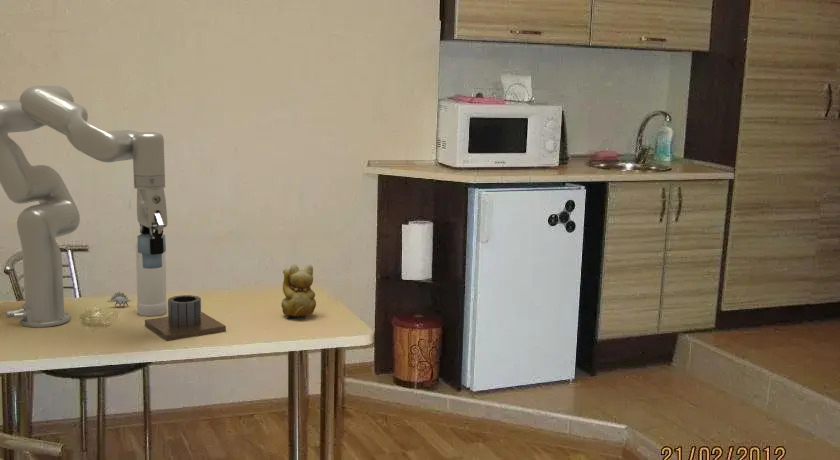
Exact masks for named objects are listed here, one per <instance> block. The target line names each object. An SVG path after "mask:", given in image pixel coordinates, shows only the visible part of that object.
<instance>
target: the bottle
mask: <svg viewBox="0 0 840 460" xmlns="http://www.w3.org/2000/svg"><path fill="white" fill-rule="evenodd" d="M153 226H157V225H153ZM153 231H154V232H155V230H153ZM136 240H137V239H136ZM135 260H136V261H135V262H136V294H137V295H136V298H137V299H136V300H137V301H136V308H137V314H138V315H139V316H143V317H157V316H161V315H165V314H166V313H167V312H168V311H167V310H168V300H167V272H166V271H167V269H166V267H167V266H166V264H167V263H166V262H167V261H166V251H165V252H163V254H162V267H160V268H155V269H146V268H143V263H142V254H141V253H138V240H137V241H136V244H135Z"/></svg>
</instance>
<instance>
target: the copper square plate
mask: <svg viewBox="0 0 840 460" xmlns="http://www.w3.org/2000/svg"><path fill="white" fill-rule="evenodd" d="M167 310H168V311H167V313H168V316H164V317H157V318H149V319H144V326H145V327H147V328H148V329H149V330H150V331H152V332H154V333H155V334H156V335H158V336H159V337H160V338H161V339H164V341H167V342H170V341H175V340H180V339H181V340H182V339H187V338H192V337H193V338H194V337H201V336H206V335H212V334H218V333H223V332H224V333H225V332H227V328H226V327H227V326H226V325H225V324H223V322H222V323H221V322H220V321H219V320H216V319H215V318H213V317H211V316H209V315H208V314H206V313H205V312H203V311H202V298H201V297H200V296H198V295H197V296H196V295H192V294H191V295H190V294H185V295H184V294H182V295H175V296H171V297H169V298H168V300H167Z"/></svg>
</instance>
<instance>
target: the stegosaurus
mask: <svg viewBox="0 0 840 460" xmlns="http://www.w3.org/2000/svg"><path fill="white" fill-rule="evenodd" d="M106 302H107V303H115V304H114V307H115V308H117V305H119V306H120V309H123V307H124V309H125V308H126V306H129V304H128V303H129V302H132V300H131V299H130V298H128V296H127V295H126V294H125V293H123V292H120V291H118V292H117V293H116V292H114V294H113V295H112V296H111V298H110V299H107V301H106ZM122 305H123V307H122Z"/></svg>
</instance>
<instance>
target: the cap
mask: <svg viewBox="0 0 840 460" xmlns="http://www.w3.org/2000/svg"><path fill="white" fill-rule="evenodd" d="M136 237H137V239H136V240H138V253H141V254H142V263H143V268H146V269H155V268H160V267H162V254H155V255H151V254H150V239H151V234H142V235H140V234H139V235H137V236H136ZM166 247H167V245H166V235H165V234H164V233H163V251H164V252H165V253H166V252H167V249H166Z"/></svg>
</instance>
